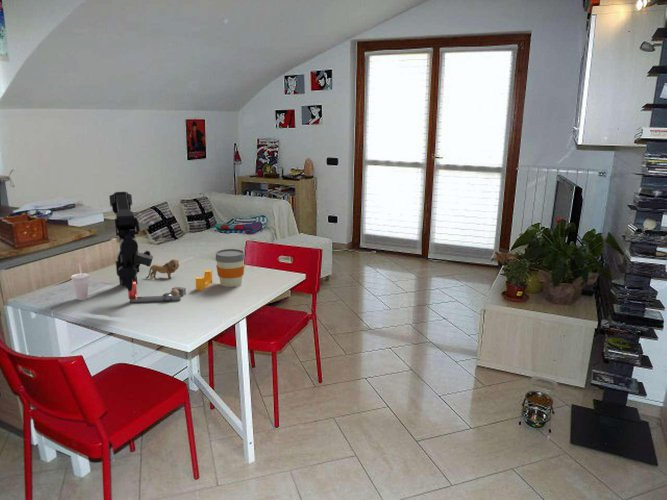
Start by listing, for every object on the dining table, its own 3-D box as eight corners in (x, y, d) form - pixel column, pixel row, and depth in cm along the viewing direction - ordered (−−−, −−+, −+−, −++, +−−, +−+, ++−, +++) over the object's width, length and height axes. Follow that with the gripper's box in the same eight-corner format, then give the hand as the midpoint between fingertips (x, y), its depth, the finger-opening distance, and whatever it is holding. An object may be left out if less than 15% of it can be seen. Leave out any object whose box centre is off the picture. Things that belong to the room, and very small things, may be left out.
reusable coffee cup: (225, 292, 211) (224, 258, 207) (211, 284, 220) (209, 251, 216) (251, 286, 219) (250, 253, 215) (236, 279, 228) (235, 247, 224)
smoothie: (95, 297, 203) (91, 263, 199) (82, 302, 197) (78, 268, 193) (82, 294, 205) (78, 262, 201) (69, 300, 199) (65, 266, 195)
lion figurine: (180, 276, 231) (178, 257, 228) (179, 279, 226) (178, 260, 223) (146, 277, 227) (144, 258, 225) (145, 281, 222) (143, 262, 220)
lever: (128, 303, 193) (126, 284, 191) (129, 300, 196) (128, 281, 194) (180, 301, 197) (179, 282, 195) (181, 298, 200) (180, 279, 198)
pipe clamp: (203, 283, 222) (202, 269, 220) (212, 284, 221) (211, 270, 219) (192, 292, 210) (191, 278, 208) (202, 293, 210) (201, 279, 208)
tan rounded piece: (168, 298, 200) (168, 290, 199) (173, 295, 203) (173, 287, 202) (176, 299, 199) (175, 291, 198) (181, 296, 202) (180, 288, 201)
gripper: (148, 253, 182) (151, 293, 186) (152, 240, 199) (155, 278, 203) (115, 254, 179) (119, 295, 183) (122, 242, 196) (126, 279, 200)
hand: (131, 286), depth 192 cm, fingers open, 9 cm apart
